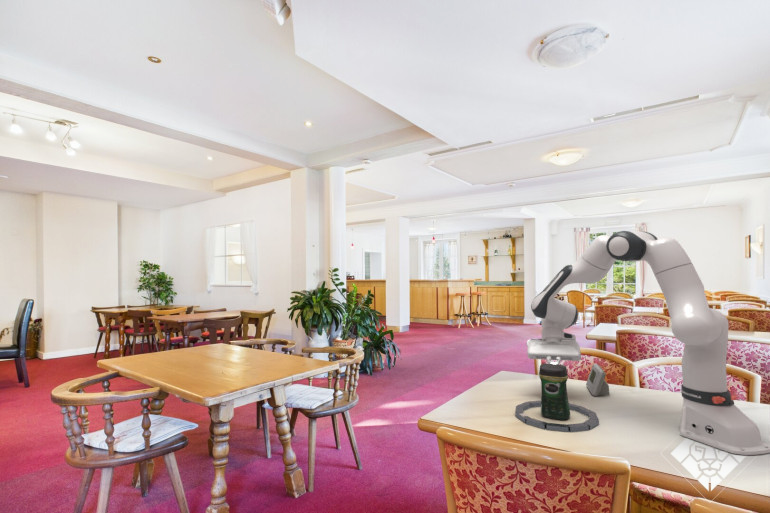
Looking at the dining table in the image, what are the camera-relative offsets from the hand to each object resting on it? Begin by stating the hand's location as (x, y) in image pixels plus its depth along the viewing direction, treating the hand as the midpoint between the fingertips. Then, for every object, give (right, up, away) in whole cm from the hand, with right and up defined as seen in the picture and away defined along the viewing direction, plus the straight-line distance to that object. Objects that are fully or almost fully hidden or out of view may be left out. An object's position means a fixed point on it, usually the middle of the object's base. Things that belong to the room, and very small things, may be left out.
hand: (554, 367), depth 158 cm
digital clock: (+23, -14, +12) cm, 30 cm away
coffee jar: (-6, -13, -15) cm, 21 cm away
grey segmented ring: (-6, -13, -16) cm, 21 cm away
